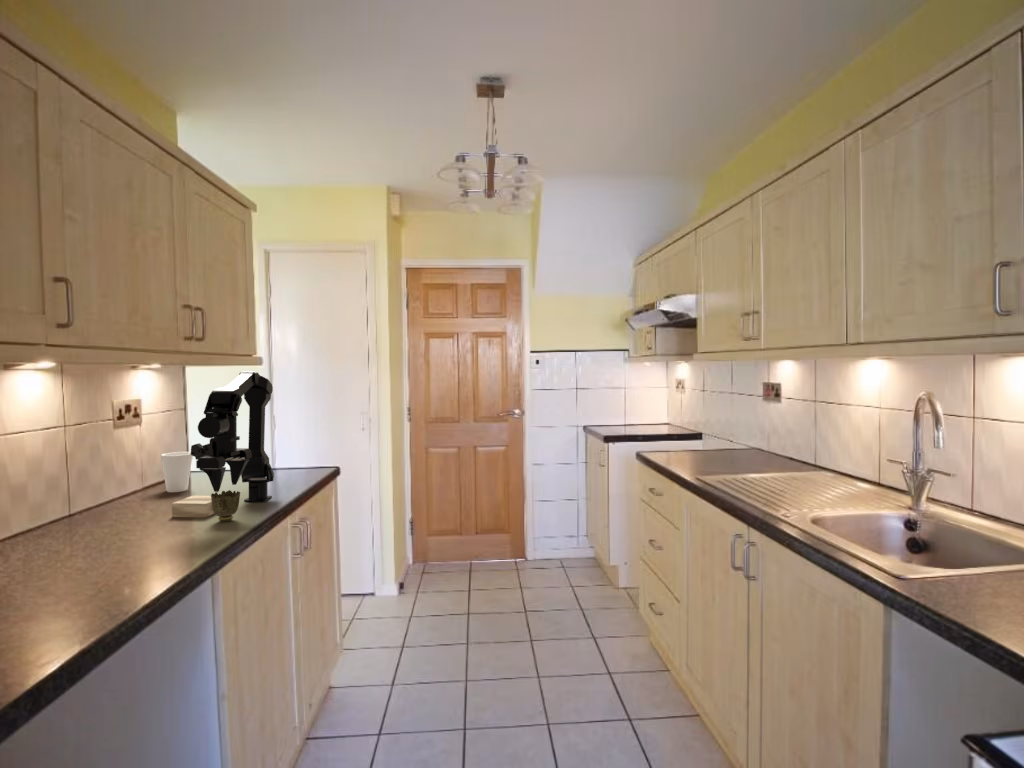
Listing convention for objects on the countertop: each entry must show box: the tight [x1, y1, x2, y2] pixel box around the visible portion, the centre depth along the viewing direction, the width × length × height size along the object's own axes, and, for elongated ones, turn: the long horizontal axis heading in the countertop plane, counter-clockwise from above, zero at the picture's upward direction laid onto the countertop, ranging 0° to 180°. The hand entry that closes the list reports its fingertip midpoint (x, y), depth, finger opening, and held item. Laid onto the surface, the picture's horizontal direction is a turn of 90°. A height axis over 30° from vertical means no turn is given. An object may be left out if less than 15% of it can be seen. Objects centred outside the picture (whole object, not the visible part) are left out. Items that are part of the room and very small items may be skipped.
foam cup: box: [160, 451, 194, 493], centre depth 193 cm, size 10×9×13 cm
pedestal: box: [171, 494, 216, 518], centre depth 163 cm, size 10×10×4 cm
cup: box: [210, 489, 241, 523], centre depth 155 cm, size 8×7×8 cm
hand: (225, 488), depth 155 cm, fingers open, 9 cm apart
